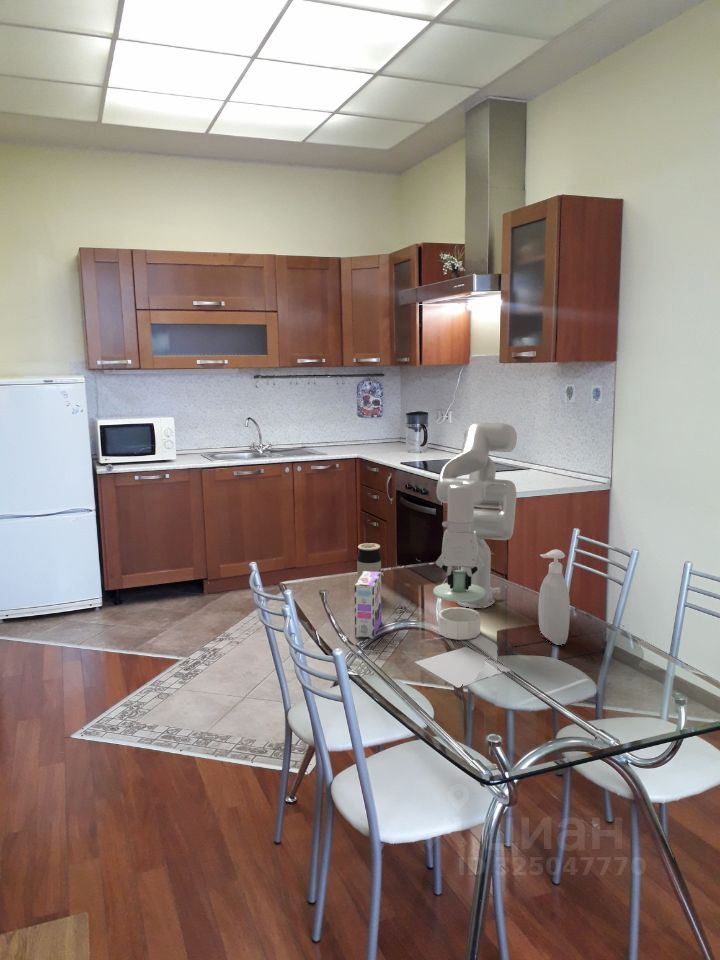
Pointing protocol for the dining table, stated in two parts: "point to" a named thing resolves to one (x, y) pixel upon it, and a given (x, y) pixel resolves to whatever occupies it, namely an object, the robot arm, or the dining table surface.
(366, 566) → the travel mug
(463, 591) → the lid
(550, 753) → the dining table surface
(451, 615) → the bowl
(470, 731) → the dining table surface
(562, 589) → the soap bottle
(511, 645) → the dining table surface
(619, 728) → the dining table surface
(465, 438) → the robot arm
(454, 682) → the mat
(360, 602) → the candy box
